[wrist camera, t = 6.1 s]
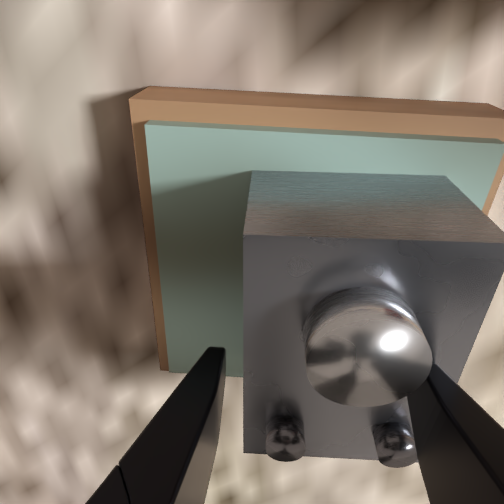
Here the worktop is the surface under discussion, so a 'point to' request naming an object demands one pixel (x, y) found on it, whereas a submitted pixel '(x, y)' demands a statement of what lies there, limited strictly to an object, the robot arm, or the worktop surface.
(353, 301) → the housing
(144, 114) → the stand
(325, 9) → the worktop surface
